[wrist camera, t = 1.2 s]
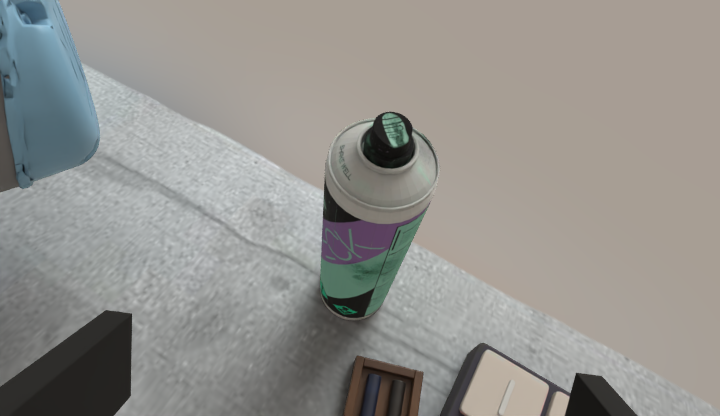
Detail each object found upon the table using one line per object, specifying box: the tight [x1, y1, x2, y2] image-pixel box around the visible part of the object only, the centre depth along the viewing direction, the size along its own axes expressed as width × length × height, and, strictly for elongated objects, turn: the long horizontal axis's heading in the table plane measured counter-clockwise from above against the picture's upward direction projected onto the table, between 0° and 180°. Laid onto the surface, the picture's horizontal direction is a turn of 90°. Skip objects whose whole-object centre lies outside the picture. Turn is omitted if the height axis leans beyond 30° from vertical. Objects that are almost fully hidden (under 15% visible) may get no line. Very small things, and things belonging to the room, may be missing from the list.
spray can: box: [320, 112, 440, 320], centre depth 26 cm, size 6×6×20 cm
